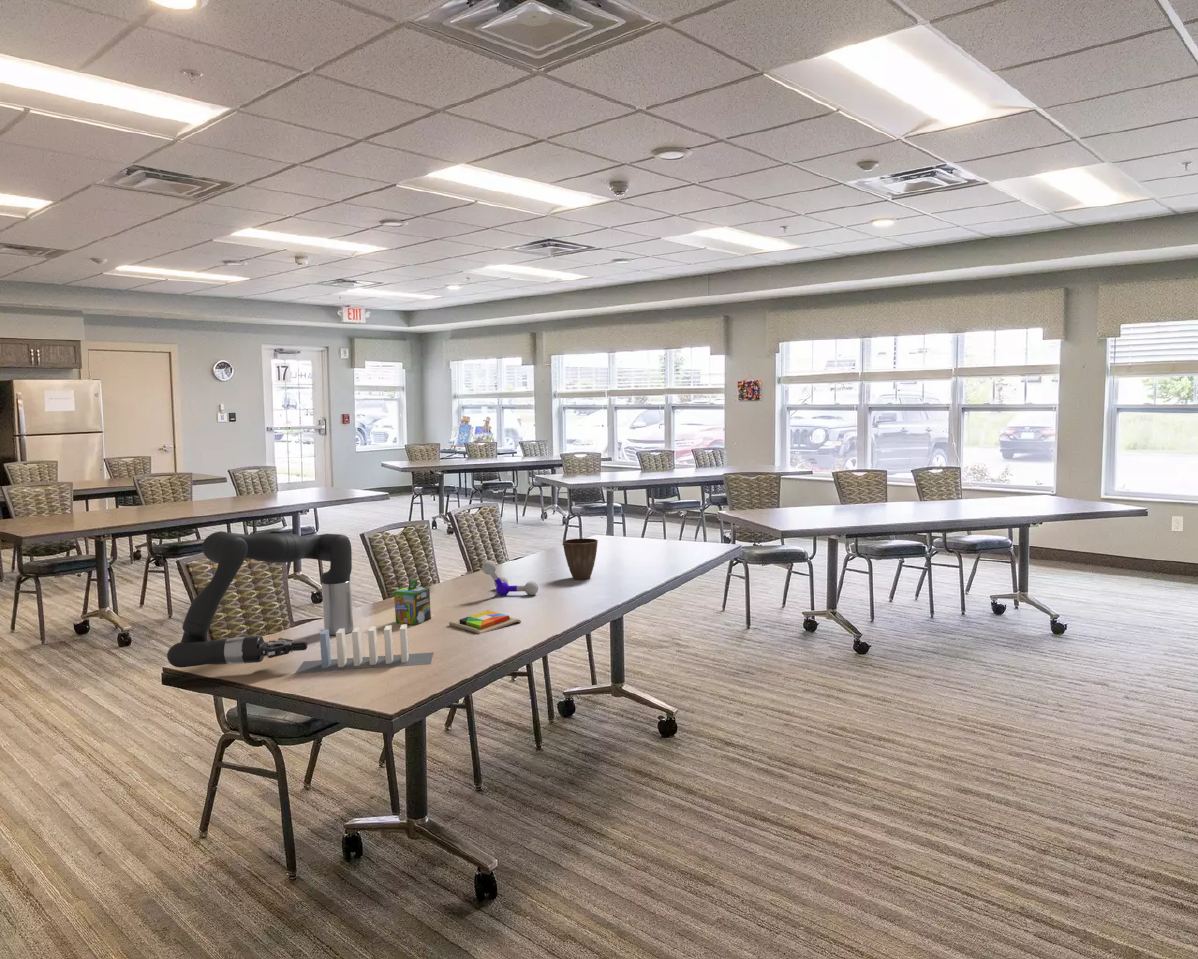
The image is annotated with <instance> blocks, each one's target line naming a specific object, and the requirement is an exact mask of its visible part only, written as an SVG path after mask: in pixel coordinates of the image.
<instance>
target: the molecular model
mask: <svg viewBox="0 0 1198 959" xmlns="http://www.w3.org/2000/svg"><path fill="white" fill-rule="evenodd" d="M481 570H482V572H483V573H484V574H485V575H488V576H489V575H490V576H491V578H492V579H493V581H494V586H495V589H496V592H497V594H498V595H499V596H502V597H503V596H507V595H508V594H509V592H515V593H516V592H525V593H526V594H527V595H528V596H534V595H536V594H537V593H538V592H539V585H538V583H537V582H535V581H534V580H533V581H532V580H531V581H527V582H526V583H525V585H524V584H523V585H509V580H508V579H507V577H506V576H502V575H500V576H499V575H498V573H497V572H496V570H497V565H496V563H495V562H494V561H493V560H486V561H483V563H482V565H481Z"/></svg>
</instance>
